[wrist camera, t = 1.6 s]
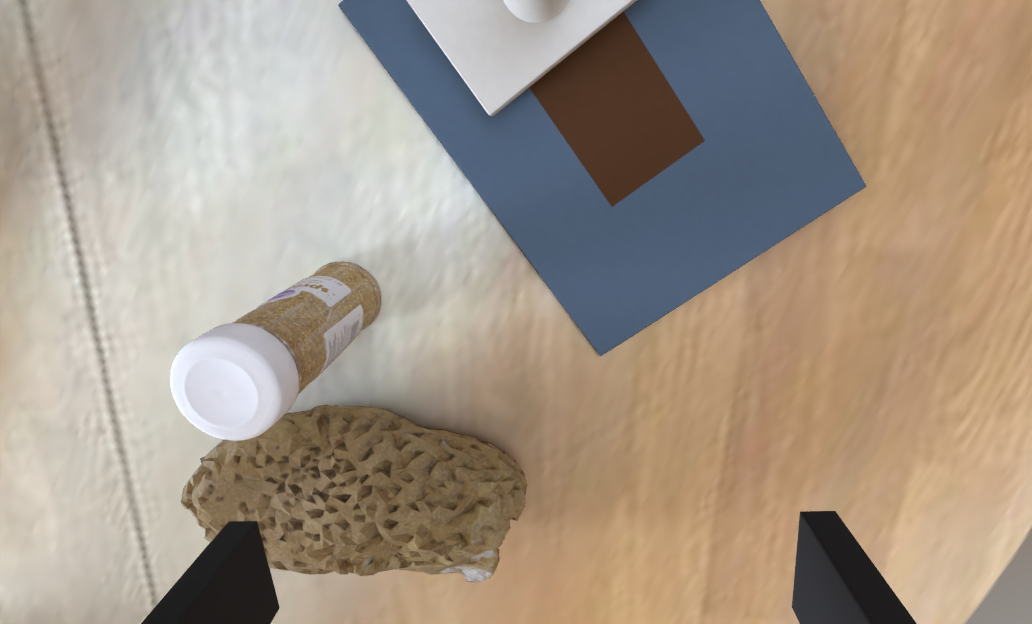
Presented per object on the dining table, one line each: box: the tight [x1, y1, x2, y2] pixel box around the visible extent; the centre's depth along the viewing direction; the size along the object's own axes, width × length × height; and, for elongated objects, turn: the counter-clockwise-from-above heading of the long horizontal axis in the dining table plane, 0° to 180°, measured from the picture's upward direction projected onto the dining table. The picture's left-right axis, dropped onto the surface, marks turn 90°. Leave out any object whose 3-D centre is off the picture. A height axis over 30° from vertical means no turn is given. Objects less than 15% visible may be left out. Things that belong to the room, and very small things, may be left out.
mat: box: [339, 0, 866, 356], centre depth 30 cm, size 24×17×1 cm
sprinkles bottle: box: [170, 262, 381, 441], centre depth 28 cm, size 5×5×14 cm
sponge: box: [181, 405, 527, 582], centre depth 35 cm, size 13×8×20 cm
